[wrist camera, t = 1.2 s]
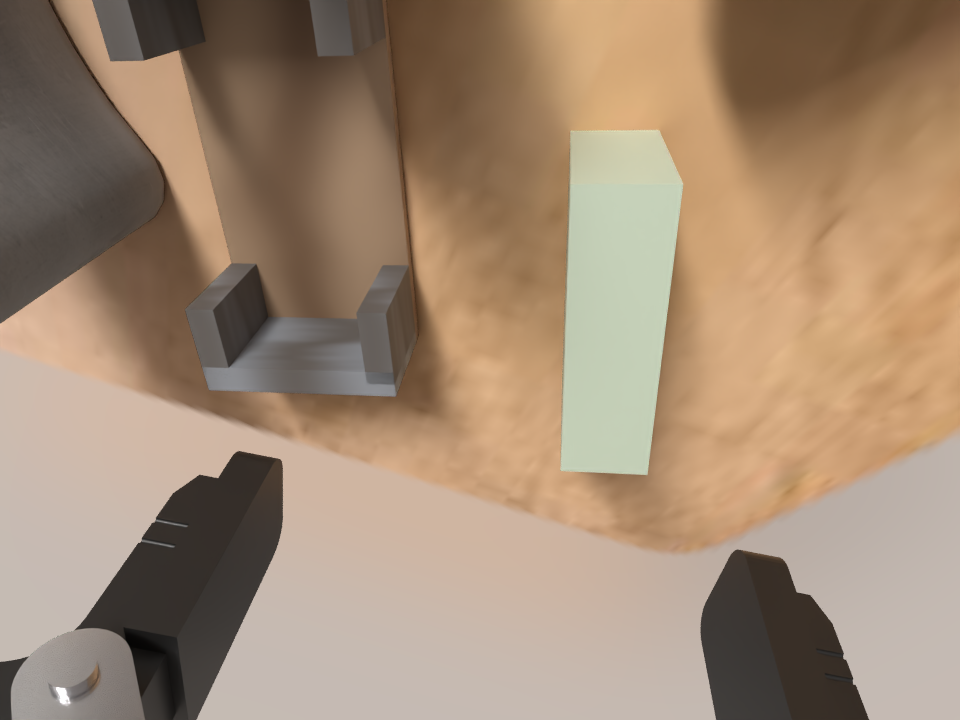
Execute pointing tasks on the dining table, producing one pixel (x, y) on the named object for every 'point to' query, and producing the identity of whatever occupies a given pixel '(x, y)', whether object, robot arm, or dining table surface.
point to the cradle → (292, 187)
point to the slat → (616, 296)
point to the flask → (60, 160)
